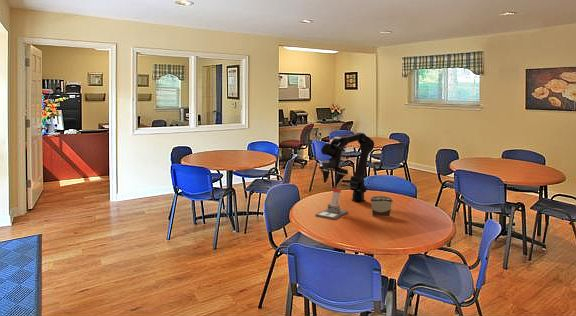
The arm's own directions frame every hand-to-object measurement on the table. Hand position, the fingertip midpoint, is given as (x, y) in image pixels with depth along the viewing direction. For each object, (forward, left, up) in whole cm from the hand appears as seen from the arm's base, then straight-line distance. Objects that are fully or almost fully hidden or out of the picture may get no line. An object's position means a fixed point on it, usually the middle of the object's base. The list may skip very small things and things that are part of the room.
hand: (330, 183), depth 248 cm
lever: (+5, +11, -11) cm, 16 cm away
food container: (-17, +25, -15) cm, 34 cm away
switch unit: (+7, +12, -14) cm, 20 cm away
